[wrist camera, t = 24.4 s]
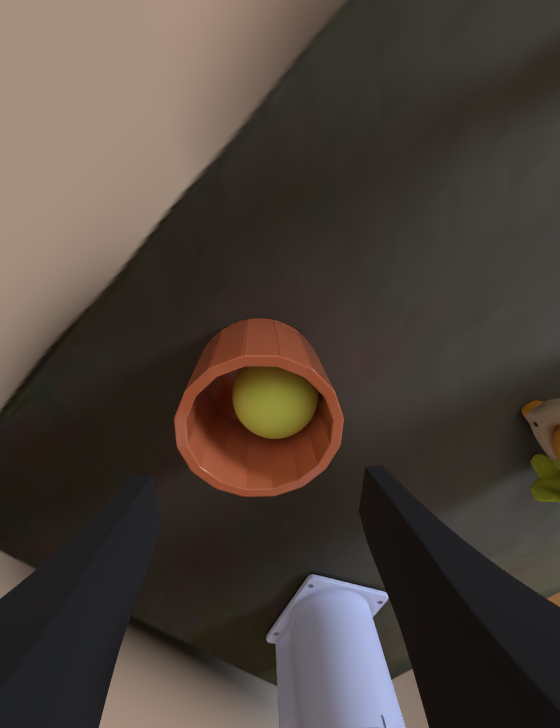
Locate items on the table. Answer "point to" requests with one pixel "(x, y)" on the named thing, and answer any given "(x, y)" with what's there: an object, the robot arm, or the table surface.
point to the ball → (273, 401)
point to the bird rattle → (545, 448)
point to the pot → (230, 437)
